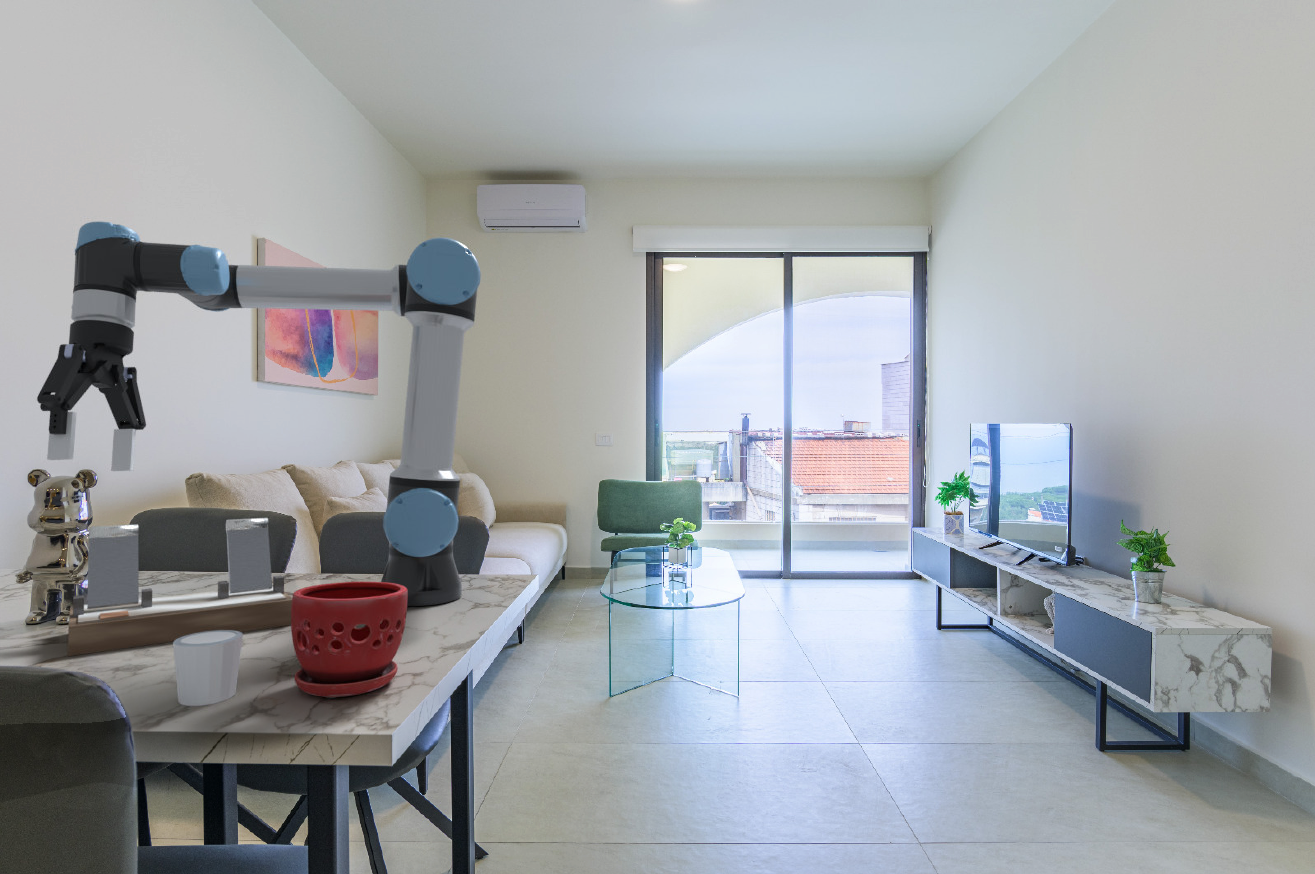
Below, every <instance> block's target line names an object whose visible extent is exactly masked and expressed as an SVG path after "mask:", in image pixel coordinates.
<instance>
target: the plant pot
mask: <svg viewBox="0 0 1315 874" xmlns="http://www.w3.org/2000/svg"><path fill="white" fill-rule="evenodd" d="M291 597H292V606H291V625H290V629H291V638H292V645H293V649H294V653H295V655H296V659H297V661H298V662H299V665H300V667H301V668H300V669H299V670H298V671H296V672H295V675H294V683H295V684H296V686H297V687H298V688H299V689H300V690H302V692H305V693H306V694H309V695H313V696H316V697H317V696H318V697H326V699H331V700H332V699H335V698H341V697H343V698H344V697H351V696H357V695H362V694H366V693H370V692H372V691H375V690H378V689H380V688H382V687H384V686H385V685H387V684H389V683H390V682H391V681H392V680H393V679H394V677H395V676H396V674H397V673H398V669H399V668H398V664H397V663H396V662H395V661H393V659H395V656H396V655H397V653H398V650H399V648H400V645H401V642H402V640H403V635H404V632H405V627H406V619H407V610H408V606H407V597H408V590H407V588H406V587H404V586H402V585H399V584H394V583H386V582H381V581H342V582H332V583H322V584H315V585H311V586H305V587H303V588H300V589H297V590H295V591H294V592H293V594H292V596H291ZM359 625H364V626H362V627H360V628H358V627H357V626H359Z"/></svg>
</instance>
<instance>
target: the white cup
mask: <svg viewBox="0 0 1315 874" xmlns="http://www.w3.org/2000/svg"><path fill="white" fill-rule="evenodd" d="M243 638H244V633H243V632H240V631H233V630H216V631H205V632H199V633H194V634H190V635H186V636H183V637H180V638H178V639H176V640H175V641H172V645H173V655H174V657H173V658H174V667H175V668H174V669H175V677H176V690H177V699H178V700H177V701H178V703H179V704H180V705H182V706H186V707H187V706H188V707H199V706H207V705H209V706H210V705H213V704H217V703H221V702H224V701H226V700H230V699H231V698H233V696H235V694H236V692H237V687H238V686H237V684H238V677H239V676H238V675H239V668H240V660H241V652H242V651H241V650H242V644H243Z"/></svg>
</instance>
